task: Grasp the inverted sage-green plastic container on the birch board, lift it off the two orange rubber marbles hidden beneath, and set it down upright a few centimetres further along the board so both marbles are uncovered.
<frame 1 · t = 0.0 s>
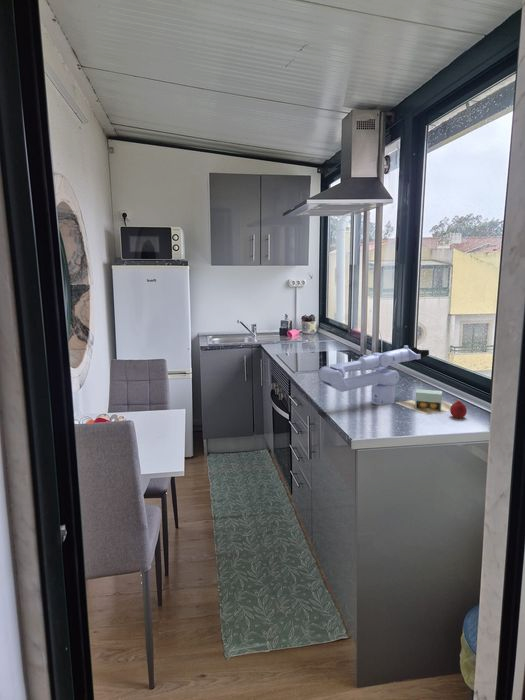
hand: (422, 351, 203), 22 cm above the worktop, tool horizontal, fingers open, 7 cm apart
red rounded piece: (457, 420, 176), on the worktop
marble a: (423, 404, 188), point 2 cm above the worktop, touching birch board
birch board: (428, 407, 192), on the worktop
marble b: (433, 405, 187), point 2 cm above the worktop, touching birch board
sage container: (428, 408, 188), point 1 cm above the worktop, touching birch board
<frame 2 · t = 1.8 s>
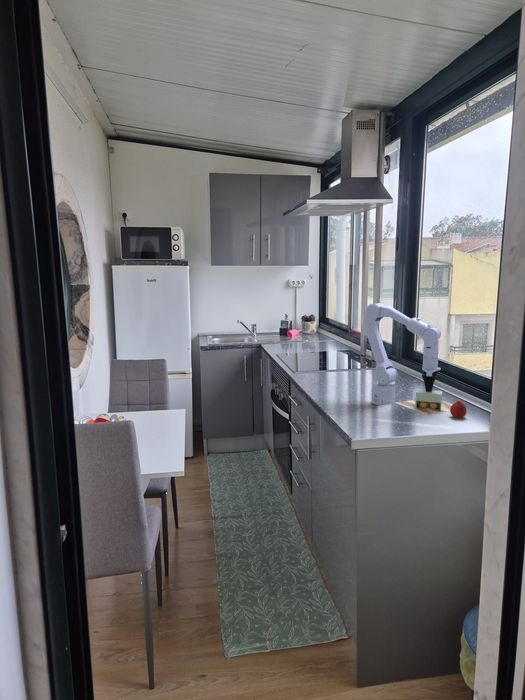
hand: (429, 389, 186), 9 cm above the worktop, tool pointing down, fingers open, 7 cm apart
nothing on the worktop moved.
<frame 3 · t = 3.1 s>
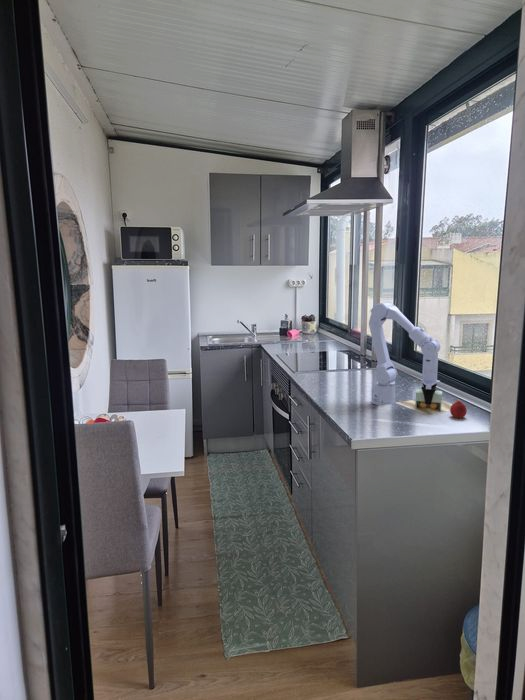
hand: (428, 402, 187), 4 cm above the worktop, tool pointing down, fingers closed on sage container, 6 cm apart
sage container: (428, 408, 188), point 1 cm above the worktop, touching birch board, gripper
everything else where it was.
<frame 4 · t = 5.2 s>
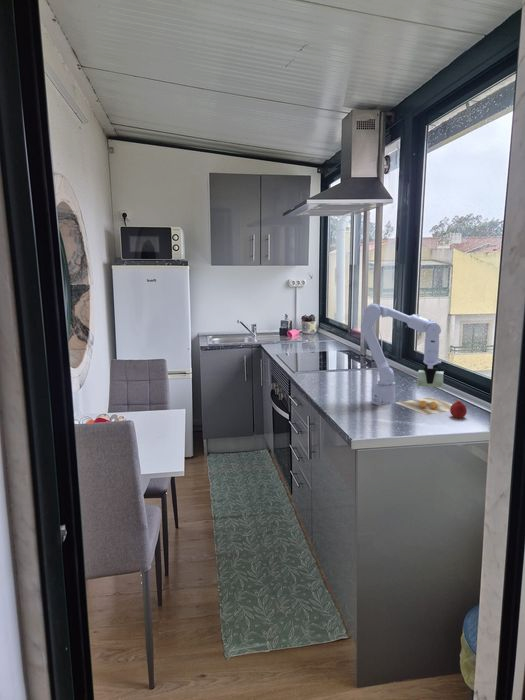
hand: (430, 381, 193), 10 cm above the worktop, tool pointing down, fingers closed on sage container, 6 cm apart
sage container: (430, 388, 194), point 8 cm above the worktop, touching gripper
everything else where it was.
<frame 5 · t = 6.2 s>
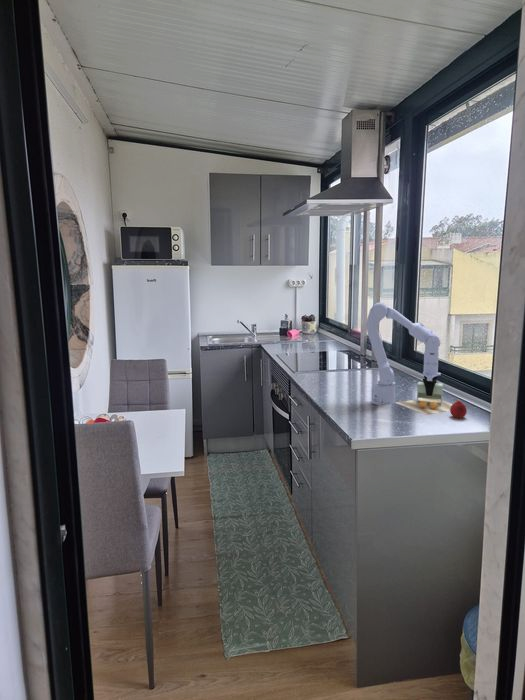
hand: (429, 393, 194), 5 cm above the worktop, tool pointing down, fingers closed on sage container, 6 cm apart
sage container: (429, 400, 195), point 2 cm above the worktop, touching gripper
everything else where it was.
when the fingers open (5 cm above the worktop, at t = 7.1 s): sage container drops 1 cm, resting on birch board.
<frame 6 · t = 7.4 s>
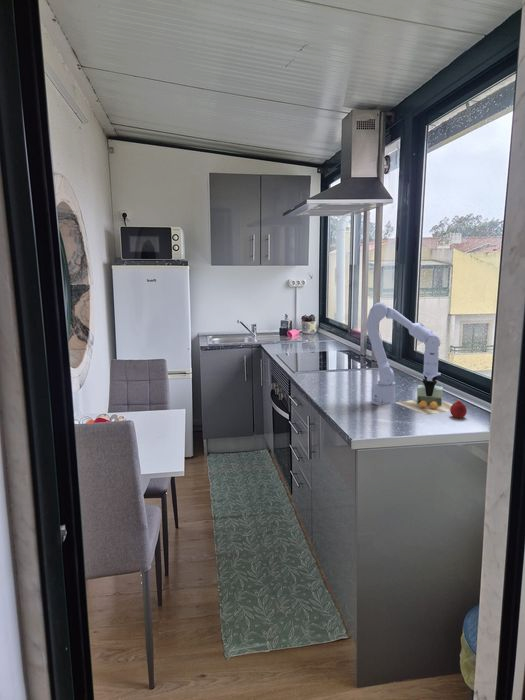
hand: (429, 393, 194), 5 cm above the worktop, tool pointing down, fingers open, 7 cm apart
sage container: (429, 403, 195), point 1 cm above the worktop, touching birch board
everything else where it was.
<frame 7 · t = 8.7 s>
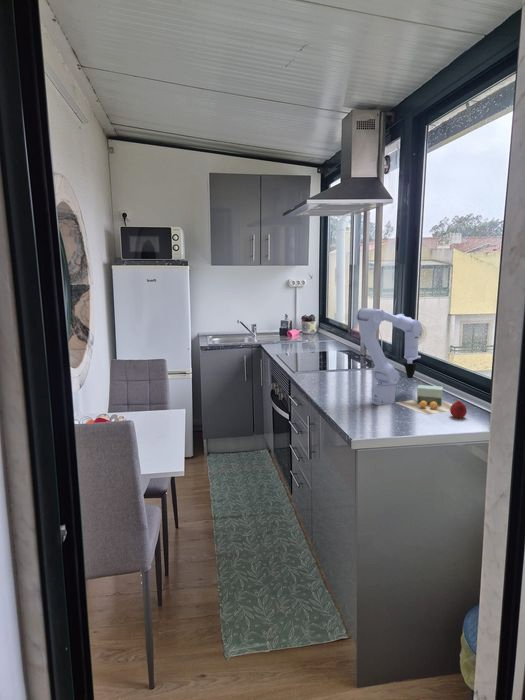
hand: (410, 376, 204), 10 cm above the worktop, tool pointing down, fingers open, 7 cm apart
nothing on the worktop moved.
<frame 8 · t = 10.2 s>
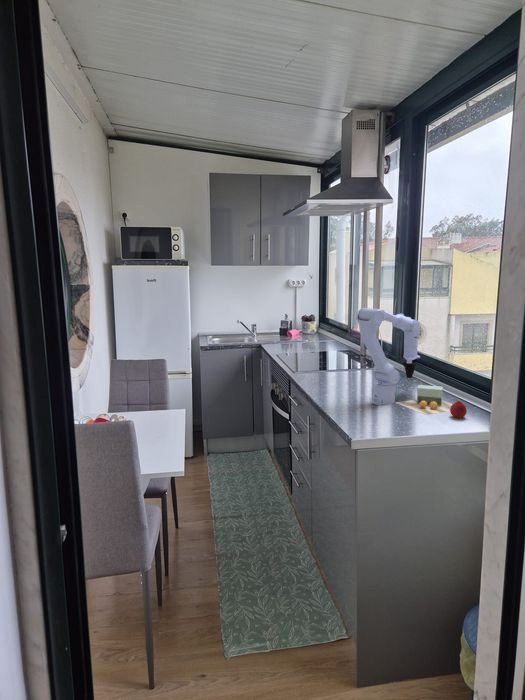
hand: (410, 375, 205), 10 cm above the worktop, tool pointing down, fingers open, 7 cm apart
nothing on the worktop moved.
at the end: sage container 0.2 cm from the target spot, point 1.0 cm above the worktop; sage container tilted 0°; marble a moved 0.0 cm from its start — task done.
